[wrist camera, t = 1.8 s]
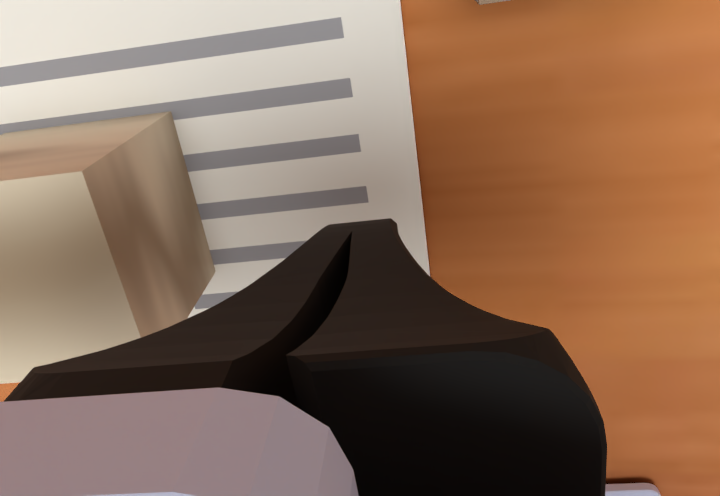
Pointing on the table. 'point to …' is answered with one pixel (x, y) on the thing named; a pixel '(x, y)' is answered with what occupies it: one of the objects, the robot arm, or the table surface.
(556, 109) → the table surface
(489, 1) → the walnut block
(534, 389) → the robot arm
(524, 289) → the table surface
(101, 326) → the beech block
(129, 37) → the letter
